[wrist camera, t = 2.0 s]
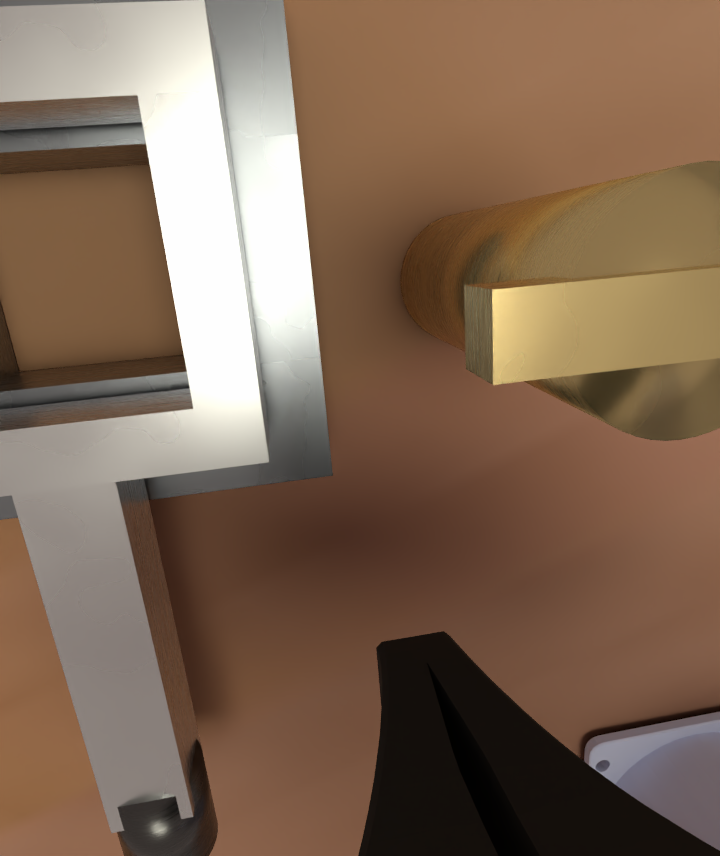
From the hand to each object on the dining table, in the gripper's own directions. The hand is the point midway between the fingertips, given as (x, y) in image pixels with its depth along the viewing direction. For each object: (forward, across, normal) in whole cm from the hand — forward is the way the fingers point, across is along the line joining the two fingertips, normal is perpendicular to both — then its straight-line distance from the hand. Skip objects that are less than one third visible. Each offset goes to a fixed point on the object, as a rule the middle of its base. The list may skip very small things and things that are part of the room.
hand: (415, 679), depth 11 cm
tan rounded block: (+6, -3, -7) cm, 10 cm away
